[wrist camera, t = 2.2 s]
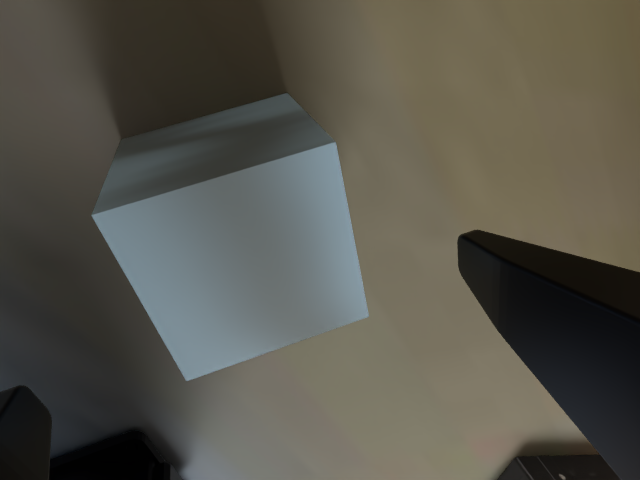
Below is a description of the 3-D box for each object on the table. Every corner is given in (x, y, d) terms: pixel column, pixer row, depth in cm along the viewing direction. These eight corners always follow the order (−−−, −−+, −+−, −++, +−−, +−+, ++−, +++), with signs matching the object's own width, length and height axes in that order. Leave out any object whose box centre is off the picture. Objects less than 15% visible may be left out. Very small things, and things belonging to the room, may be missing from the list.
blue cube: (185, 273, 15) (186, 381, 11) (121, 138, 12) (91, 215, 8) (319, 229, 16) (368, 316, 12) (286, 92, 13) (336, 141, 9)
